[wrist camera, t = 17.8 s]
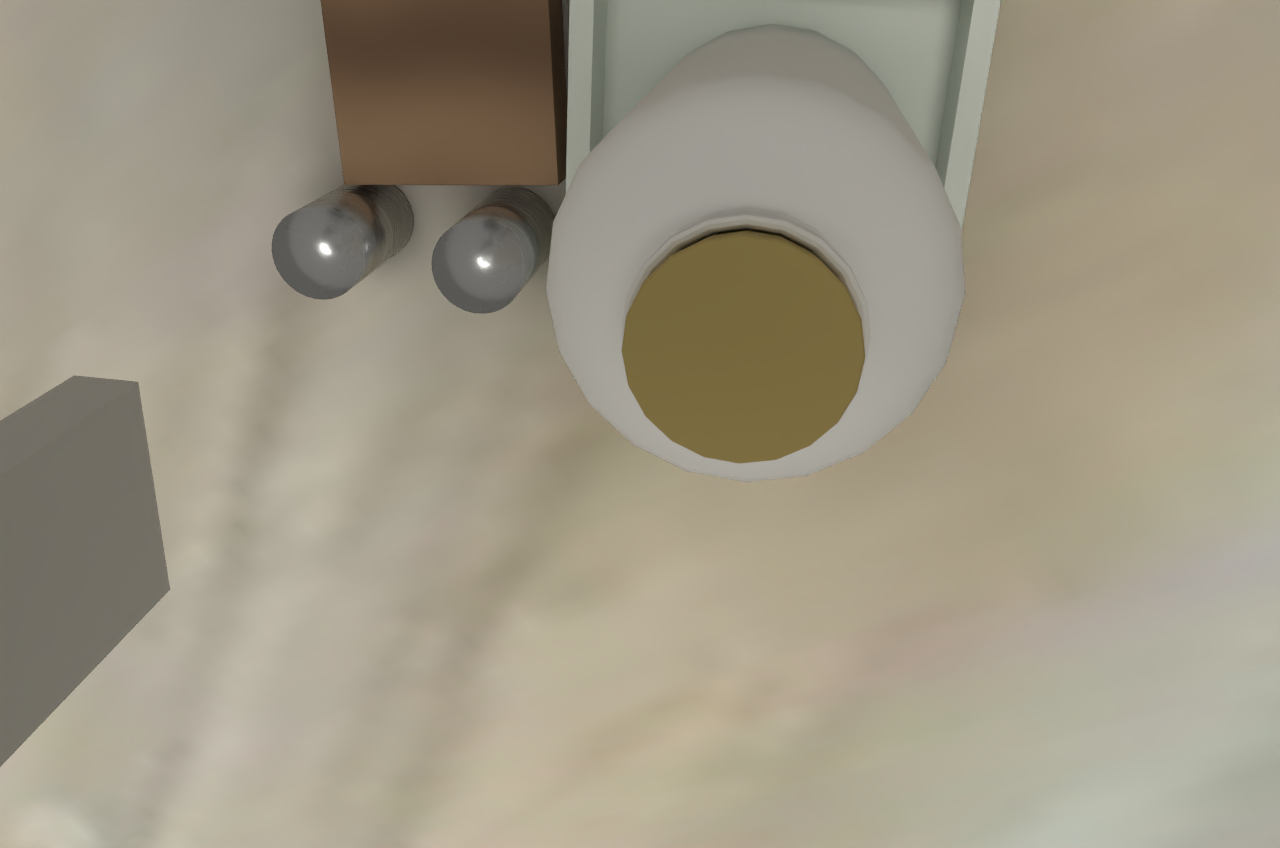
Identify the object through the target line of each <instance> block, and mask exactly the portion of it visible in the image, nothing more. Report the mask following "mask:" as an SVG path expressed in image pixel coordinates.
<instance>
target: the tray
mask: <svg viewBox="0 0 1280 848" xmlns="http://www.w3.org/2000/svg"><path fill="white" fill-rule="evenodd" d="M1000 3H1001V0H570V11H569V58H568V106H567V154H566V193H567V191H568V188H569V186H570V184H571V182H572V180H573V178H574V175H575V173H576V171H577V169H578V167H579V164H580V163H581V162H582V161H583V160H584V159H585V158H586V157H587V156H588V154H589V153H590V152H591V151H592V150H593V149H594V148H595V147H596V146H597V145H598V144H599V143H600V142H601V141H602V140H603V138H604V137H605V136H606V135H607V134H608V133H609V132H610V131H611V130H612V129H613V128H614V127H615V126H616V125H617V123H618V122H619V121H620V120H621V119H622V118H623V117H624V116H625V115H626V114H627V113H628V112H629V111H630V110H631V109H632V108H633V107H634V106H635V105H636V104H637V103H638V102H639V101H640V100H641V99H642V98H643V97H644V96H645V95H646V94H647V93H648V92H649V91H650V90H651V89H652V88H653V87H654V86H655V85H656V84H657V83H658V82H659V81H660V80H661V79H662V78H663V77H664V76H665V75H666V74H667V73H668V72H669V71H670V70H671V69H672V68H673V67H674V66H675V65H676V64H677V63H678V62H679V61H680V60H681V59H682V58H683V57H684V56H685V55H686V54H687V53H689V52H691V51H693V50H694V49H696V48H698V47H700V46H702V45H704V44H705V43H707V42H709V41H711V40H713V39H714V38H716V37H718V36H720V35H722V34H724V33H725V32H728V31H733V30H739V29H744V28H750V27H756V26H761V25H767V24H776V25H783V26H789V27H795V28H802V29H808V30H815V31H817V32H819V33H821V34H823V35H824V36H826V37H828V38H830V39H832V40H834V41H836V42H838V43H839V44H841V45H843V46H845V47H847V48H849V49H851V50H853V51H854V52H855V53H856V54H857V55H858V56H859V57H860V58H861V59H862V60H863V61H864V62H865V64H866V65H867V66H868V67H869V68H870V69H871V70H872V71H873V72H874V73H875V74H876V76H877V77H878V78H879V79H880V80H881V81H882V82H883V83H884V84H885V86H886V88H887V89H888V91H889V92H890V94H891V96H892V97H893V99H894V101H895V102H896V104H897V105H898V107H899V109H900V110H901V112H902V114H903V115H904V117H905V119H906V120H907V122H908V123H909V125H910V127H911V128H912V130H913V132H914V133H915V135H916V136H917V138H918V140H919V141H920V143H921V145H922V146H923V148H924V149H925V151H926V153H927V154H928V156H929V158H930V159H931V161H932V162H933V164H934V166H935V168H936V170H937V173H938V175H939V177H940V180H941V182H942V184H943V187H944V189H945V191H946V194H947V196H948V198H949V201H950V203H951V205H952V208H953V210H954V212H955V215H956V217H957V219H958V222H959V224H960V226H961V232H962V226H963V221H964V215H965V209H966V203H967V197H968V191H969V185H970V179H971V174H972V168H973V162H974V156H975V150H976V144H977V138H978V132H979V126H980V121H981V115H982V109H983V103H984V97H985V91H986V85H987V79H988V74H989V68H990V62H991V56H992V50H993V44H994V38H995V32H996V26H997V21H998V15H999V9H1000ZM936 379H937V376H936V378H935V379H934V380H936Z"/></svg>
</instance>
